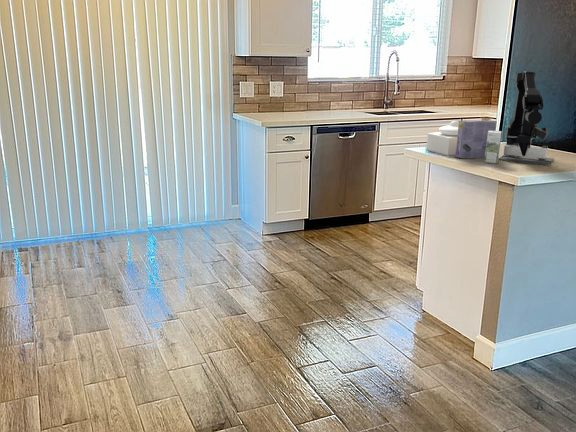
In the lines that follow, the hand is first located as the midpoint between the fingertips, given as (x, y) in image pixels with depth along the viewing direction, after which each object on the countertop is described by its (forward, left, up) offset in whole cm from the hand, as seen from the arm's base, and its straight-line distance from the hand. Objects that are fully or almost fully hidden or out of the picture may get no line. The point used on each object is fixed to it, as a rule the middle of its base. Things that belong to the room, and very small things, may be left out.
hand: (524, 155), depth 257 cm
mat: (0, 0, -3) cm, 3 cm away
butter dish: (-36, +6, -3) cm, 37 cm away
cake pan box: (-22, -3, -3) cm, 22 cm away
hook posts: (0, +8, -3) cm, 9 cm away
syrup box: (-12, -12, -3) cm, 17 cm away
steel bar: (0, 0, 0) cm, 0 cm away
